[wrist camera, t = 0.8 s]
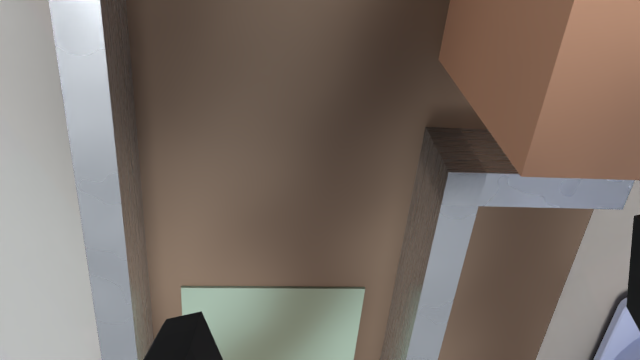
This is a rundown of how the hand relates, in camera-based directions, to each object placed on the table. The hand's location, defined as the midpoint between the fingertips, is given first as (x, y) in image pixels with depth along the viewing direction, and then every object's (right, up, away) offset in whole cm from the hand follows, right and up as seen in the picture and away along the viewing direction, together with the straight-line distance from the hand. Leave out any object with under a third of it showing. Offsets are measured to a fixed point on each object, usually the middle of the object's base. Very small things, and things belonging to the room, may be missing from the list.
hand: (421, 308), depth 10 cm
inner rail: (+3, -2, +11) cm, 11 cm away
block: (+4, +7, +5) cm, 9 cm away
